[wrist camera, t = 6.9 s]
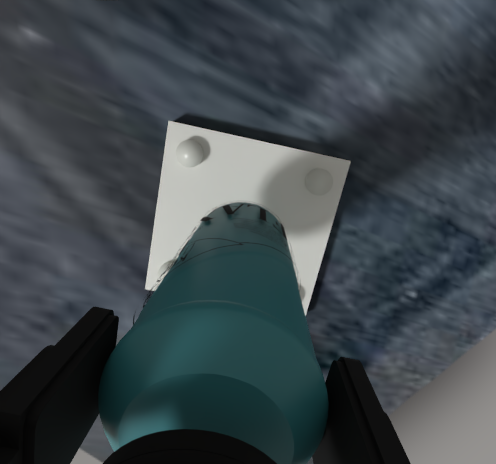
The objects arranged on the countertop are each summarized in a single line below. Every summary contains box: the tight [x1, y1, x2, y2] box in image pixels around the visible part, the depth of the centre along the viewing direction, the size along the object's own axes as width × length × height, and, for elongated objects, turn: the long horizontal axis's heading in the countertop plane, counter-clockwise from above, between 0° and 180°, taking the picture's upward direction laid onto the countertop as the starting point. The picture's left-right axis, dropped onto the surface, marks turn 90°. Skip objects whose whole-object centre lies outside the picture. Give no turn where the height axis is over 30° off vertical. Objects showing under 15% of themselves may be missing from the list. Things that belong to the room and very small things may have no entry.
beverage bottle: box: [98, 201, 329, 464], centre depth 14 cm, size 6×7×20 cm
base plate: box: [145, 121, 351, 316], centre depth 27 cm, size 14×14×2 cm
